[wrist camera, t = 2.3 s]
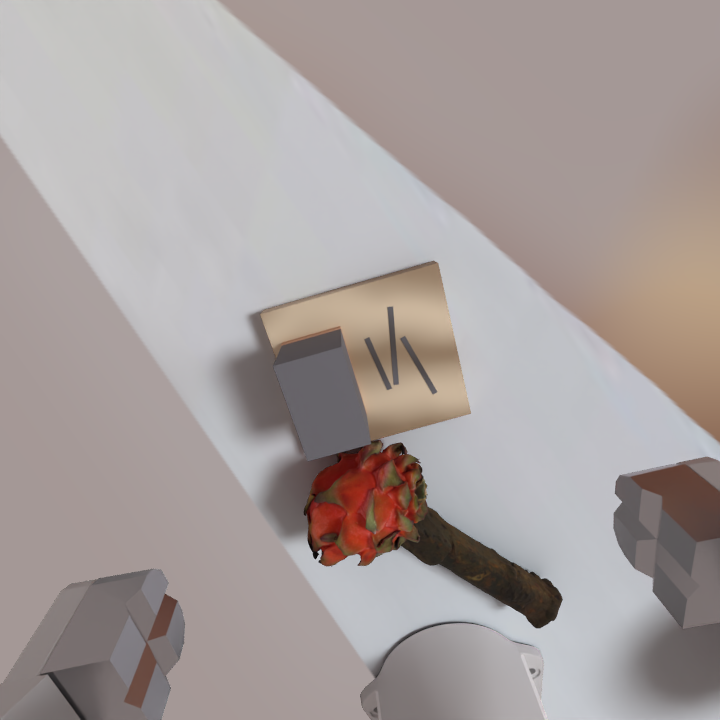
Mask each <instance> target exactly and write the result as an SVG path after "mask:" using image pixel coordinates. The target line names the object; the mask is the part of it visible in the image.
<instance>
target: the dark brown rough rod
mask: <svg viewBox="0 0 720 720" xmlns="http://www.w3.org/2000/svg"><path fill="white" fill-rule="evenodd" d="M413 525H414V526H415V527H416V529H417V530H418V534H419V536H420V540H419V542H418V543H417V542H413V541H410V540H408V539H406V541H405V542H403V543H402V545H401V546H403V547H404V548H405V549H407V550H408V551H410V552H411V553H412V554H414V555H415V556H416V557H417V558H418V559H419V560H421V561H422V562H424V563H426V564H428V565H430V566H431V565H437V564H440V565H442V566H444V567H446V568H447V569H449V570H451V571H452V572H453V573H455V574H456V575H458V576H460V577H461V578H463V579H465V580H466V581H468V582H469V583H471V584H472V585H474V586H476V587H477V588H479V589H481V590H482V591H484V592H485V593H488V594H489V595H491V596H493V597H494V598H496V599H498V600H499V601H501V602H503V603H504V604H506V605H508V606H510V607H512V608H513V609H515V610H516V611H518V612H520V613H522V614H523V615H525V616H526V618H527V620H528V621H529V622H530V623H531V624H532V625H533V626H534V627H535V628H541V627H543V626H545V625H547V624H548V623H549V622H550V621H554V620H555V619H556V617H557V614H558V610H559V608H560V605H561V602H562V600H563V599H562V596H561V594H560V592H559V591H558V589H557V588H556V587H554V586H553V585H552V583H551V582H550V581H549V580H548V579H540V577H539V576H537V575H536V574H535V573H534V572H530V573H529V572H527V571H525V570H524V569H523V568H521V567H520V566H518V565H517V564H515V563H512V562H510V561H508V560H507V559H505V558H504V557H502V556H500V555H499V554H498V553H497V552H496V551H495V550H493V549H490V548H488V547H486V546H484V545H483V544H481V543H480V542H478V541H476V540H474V539H473V538H471V537H469V536H468V535H466V534H465V533H463V532H461V531H460V530H458V529H457V528H455V527H453V526H452V525H450V524H448V523H447V522H446V521H445V520H444V519H442V518H441V517H440V516H439V514H438V513H437V512H436V511H434V510H433V509H431V508H429V507H428V513H427V514H426V515H425V519H424V520H421V521H418V523H414V524H413Z"/></svg>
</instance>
